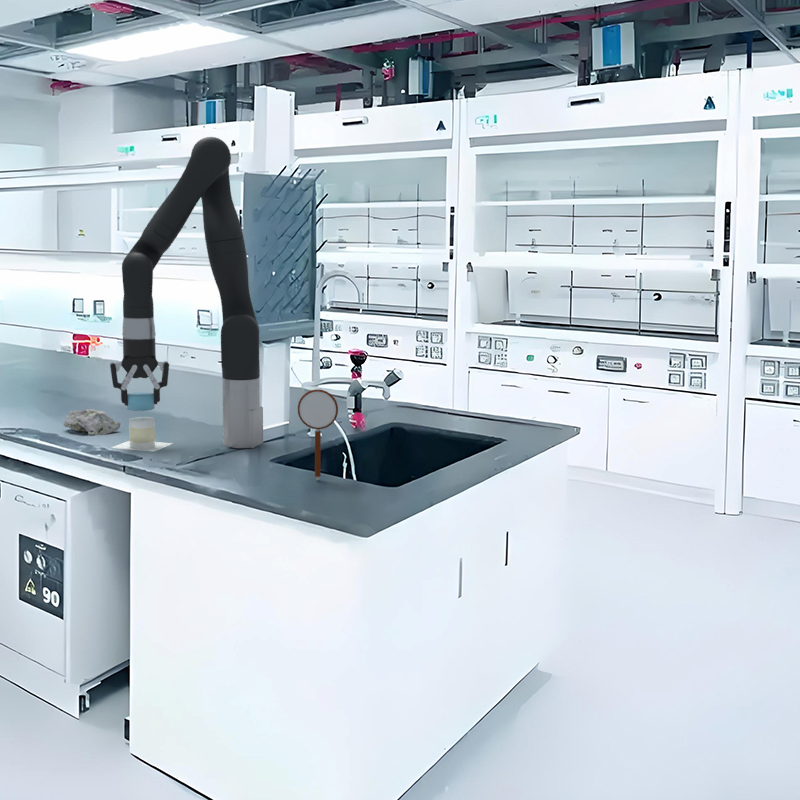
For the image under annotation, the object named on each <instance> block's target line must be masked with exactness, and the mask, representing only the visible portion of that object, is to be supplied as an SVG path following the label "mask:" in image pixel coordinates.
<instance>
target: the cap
mask: <svg viewBox="0 0 800 800" xmlns="http://www.w3.org/2000/svg"><path fill="white" fill-rule="evenodd" d="M127 399H128V405H126V407H127V408H126V409H127V410H128V411H133V412H143V411H152V410H154V409H155V404H154V393H153V392H148V391H147V392H146V391H141V392H140V391H137V392H130V393H127Z"/></svg>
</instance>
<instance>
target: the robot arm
mask: <svg viewBox="0 0 800 800" xmlns="http://www.w3.org/2000/svg"><path fill="white" fill-rule="evenodd" d="M226 143H227V142H225V141H224V140H223V139H220V138H219V137H216V136H215V137H214V136H206V137H203V138H200V139H199V140H198V141H197V142H196V143H195V144H194V145H193V147H192V150H191V153H190V158H189V159H188V162H187V164H186V166H185V169H184V170H183V172H182V174H181V176H180V177H179V179H178V181H177V183H175V185H174V187H173V189H172V190H171V191H170V193H169V194H168V195H167V197H166V198H165V199H164V201H163V202H162V203H161V205H160V206H159V207H158V208H157V210H156V211H155V213H154V214H153V216H152V217H151V218H150V220H149V222H148V223H147V225H146V227H144V229H143V230H142V233H141V235H140V237H139V238H138V240H137V241H136V243H135V244H134V245H133V246H132V248H131V249H130V251H129V252H128V253H127V254H126V256H125V257H124V258H123V261H122V263H121V274H122V287H123V298H122V313H123V315H122V317H123V319H122V334H121V335H122V354H123V356H122V360H121V361H120V362H114V361H112V362H110V364H109V366H110V375H111V382H112V386H113V388H114V389H119V390H120V397H121V398H120V400H121V403H122V404H124V406H127V405H128V399H127V394H128V389H127V388H128V386H129V385H130V382H131V381H132V379H140V378H141V379H147V378H148V379H149V381H150V382H151V383H152V385H153V388H152V390H153V392H152V393H154V405H158V403H159V402H161V389H162V388H164V387H167V386H168V384H169V383H168V381H169V370H170V363H169V362H168V361H167V360H166V361H158V360H157V356H156V354H157V353H156V326H155V318H154V317H155V315H154V298H153V284H154V283H153V282H154V281H153V280H154V270H155V268H156V266H157V265H158V263H159V261H160V260H161V258H162V257H163V255H164V254H165V253H166V252H167V251H168V249H169V248H170V247H171V246H172V244H173V243H174V241H175V239H177V238H178V235H179V234H180V232H181V231H182V229H183V227H184V226H185V224H186V223H187V221H188V219H189V218H190V216H191V214H192V212H193V211H194V209H195V207H196V206H197V204H198V202H199V201H200V199H201V204H202V205H201V206H202V218H203V219H202V221H203V222H202V223H203V232H204V239H205V246H206V252H207V257H208V261H209V265H210V269H211V272H212V275H213V278H214V282H215V284H216V287H217V291H218V292H219V297H220V303H221V312H222V325H221V328H220V358H221V359H220V360H221V364H220V365H221V375H222V380H221V381H222V383H221V384H222V385H221V386H222V428H223V429H222V433H223V435H222V438H223V441H222V442H223V445H224V446H225V447H229V448H232V449H248V448H249V449H255V448H257V447H258V446H261V445H262V444H264V407H263V406H261V401H260V400H261V399H260V398H261V395H260V394H261V392H260V391H261V385H260V382H261V381H260V380H261V379H260V373H261V372H260V371H261V370H260V366H261V365H260V327H259V326H260V325H259V322H258V321H257V316H256V314H255V310H254V307H253V302H252V299H251V293H250V289H249V288H250V286H249V285H250V284H249V268H248V258H247V249H246V245H245V243H246V242H245V239H244V234H243V229H242V226H241V223H240V218H239V217H238V216H239V215H238V212H237V210H236V208H235V205H234V201H233V197H232V191H231V182H230V165H231V162H232V155H231V151H230V148H229V146H228V145H227V144H226ZM121 367H122V368H123V370H125V372H126V374H125V376H124V378H123V380H122V383H121V382H119V379H118V373H117V372H119V371H120V370H121V369H120V368H121ZM157 367H159V370H160V371H162V372H161V373H162V375H161V381H159V382H158V380H157V379H156V377H155V375H154V373H153V372H154V371H155V369H157Z"/></svg>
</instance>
